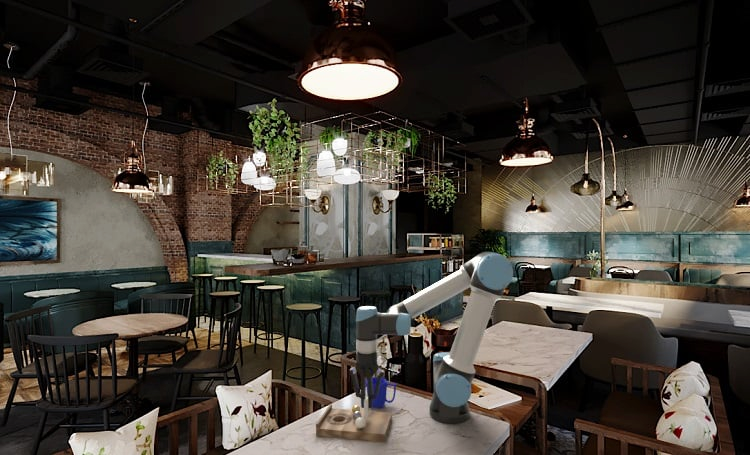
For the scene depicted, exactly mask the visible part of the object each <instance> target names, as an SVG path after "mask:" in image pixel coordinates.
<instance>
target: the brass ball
mask: <svg viewBox="0 0 750 455" xmlns="http://www.w3.org/2000/svg"><path fill="white" fill-rule="evenodd" d="M351 410H352V412H353V413H354V412H356V411H359V412H360V411H361V406H359V405H357V404H355V405H353V406H352V407H351Z"/></svg>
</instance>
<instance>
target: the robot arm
mask: <svg viewBox="0 0 750 455" xmlns="http://www.w3.org/2000/svg"><path fill="white" fill-rule="evenodd" d="M513 269H514V268H513V265H512V262H510V260H508V258H507V257H505V256H504V255H503V254H500V253H497V252H494V251H483V252H481V253H479V254H477V255H476V256H474V257H472V259H470V260H468V261H467V262H464V263H463V264H462V265H461V266H460V268H459V270H457V271H455V272H453V273H451V274H449V275H448V276H446V277H444V278H442V279H441V280H439V281H437V282H435V283H433V284H432V285H430V286H428V287H426V288H424V289H423V290H421V291H419V292H417V293H416V294H414V295H412V296H410V297H408V298H407V299H405V300H403V301H401V302H399V303H397V304H393V305H392V306H390V307H389V308H388V309H387V311H386V312H378V309H377V307H376V306H372V305H371V306H370V305H365V306H363V305H362V306H360V307H358V308H357V309H356V318H355V335H356V336H355V338H356V340H355V341H356V342H355V343H356V344H355V349H356V352H355V360H356V361H355V364H354V367H351V368H350V369H349V370H348V373H349V375H350V377H351V380H352V385H353V389H354V390H353V391H354V393H355V397H356V398H360V408H361V409H363V411H364V419H368V418H369V416H370V409H372V399H375V398H376V397H377V395H378V390H379V386H380V382H381V378H383V376H384V374H385V370H384V369H381V368H379V364H378V335H388V336H407V335H408V336H409V335H410V334H411V332H412V330H411V326H412V325H411V324H412V323H411V321H412V320H413V319H414V318H416V317H419V316H420V315H422V314H424V313H425V312H427V311H429V310H431V309H433V308H435V307H437V306H439V305H441V304H442V303H444V302H446V301H447V300H449V299H451V298H453V297H454V296H456V295H458V294H460V293H462V292H464V291H465V290H468V289H469V288H470V290H471V292H470V294H469V298H468V300H467V303H466V306H465V308H464V311H463V314H462V317H461V320H460V323H459V326H458V329H457V332H456V335H455V336H454V339H453V340H454V341H453V343H452V345H451V349H450V351H449V352H447V351H445V352H437V353H435V354H434V355H433V358H432V359H433V360H432V362H433V395H432V397H431V402H430V405H429V415H430V417H431V418H432V419H434V420H435V421H438V422H441V423H445V424H459V423H464V422H466V421H468V420H469V419H470V415H471V412H470V411H471V410H470V406H469V404H468V402H469V400H470V398H471V395H472V383H473V379H474V377H475V374H476V369H475V366H474V362H475V361H476V357H477V356H478V352H479V349H480V346H481V342H482V340H483V338H484V334H485V332H486V329H487V326H488V323H489V320H490V318H491V314H492V313H493V309H494V306H495V305H496V304H495V303H496V301H497V300H498V299H500V298H503V295H504V293H505V291H506V290H505V289H506V287H508V286H509V284H510V283H511V282H512V279H513V277H514V270H513ZM357 373H358V374H357ZM375 374H377V377H378V378H377V382H376V386H375V390H374V394H373V377H374V376H375ZM358 375H359V377H360V385H359V379H358ZM366 378H367V379H368V397H367V385H366V380H367V379H366Z"/></svg>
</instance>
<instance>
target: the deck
mask: <svg viewBox="0 0 750 455" xmlns="http://www.w3.org/2000/svg"><path fill="white" fill-rule="evenodd" d="M360 413H361V415H362V417H361V418H363V419H364V410H360ZM364 420H365V426H364V427H363V428H361V429H359V428H357V427H356V425H355V420H354V419H353V412H352V409H347V408H346V409H345V408H334V407H333V404H332V403H331V404H328V406H327V408H326V409H325V411H324V412H323V413H322V415H321V417H320V418H319V419H318V421H317V422H316V423H315V436H316V437H327V438H338V439H349V440H358V441H359V440H360V441H361V440H362V441H371V442H380V443H381V442H383V443H385V442H386V439H387V436H388V433H389V430H390V427H391V424H392V421H393V413H392V412H385V411H383V412H382V411H373V410H372V411H370V416H369V418H368V419H364Z"/></svg>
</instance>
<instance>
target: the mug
mask: <svg viewBox="0 0 750 455" xmlns="http://www.w3.org/2000/svg"><path fill="white" fill-rule="evenodd" d="M377 378H378V376H376V377H375V376H373V394H374V390H375V386H376V382H377ZM388 386H393V396H392V399H391V400H388V399H387V390H388V389H387V388H388ZM396 391H397V384H396V383H393V382H387V379H386V378H384V377H382V378H381V382H380V386H379V390H378V395H377V397H376V398H375V399H372V408H373V409H380V408H381V409H382V408H383V407H385V404H386V403H389V404H391V403H393V402H394V400H395V397H396V393H397V392H396ZM366 397H368V378H367V379H366ZM372 408H371V409H372Z"/></svg>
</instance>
